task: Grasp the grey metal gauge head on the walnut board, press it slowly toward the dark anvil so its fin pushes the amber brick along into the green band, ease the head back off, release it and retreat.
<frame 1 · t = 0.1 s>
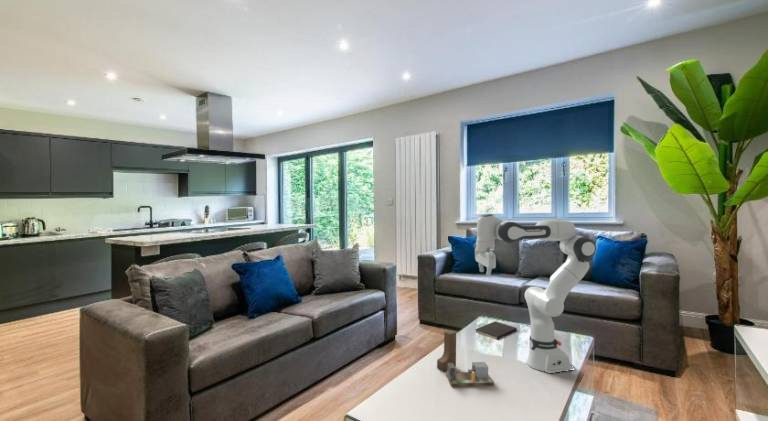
hand: (484, 273, 179), 48 cm above the table, fingers open, 8 cm apart
amber brick: (473, 376, 163), point 4 cm above the table, slide at 0.0 cm
hardcover book: (495, 332, 228), on the table
gauge head: (478, 372, 166), point 5 cm above the table, slide at 0.0 cm
wooden block: (446, 368, 179), on the table
bench: (469, 380, 167), on the table
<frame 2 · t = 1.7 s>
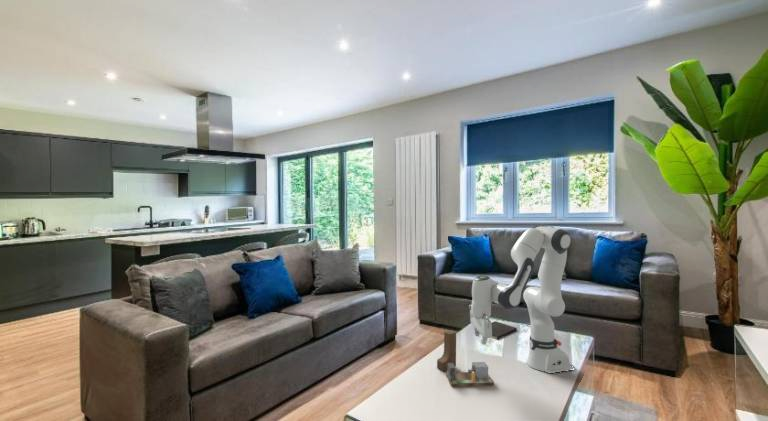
hand: (480, 339, 166), 19 cm above the table, fingers open, 8 cm apart
nothing on the table moved.
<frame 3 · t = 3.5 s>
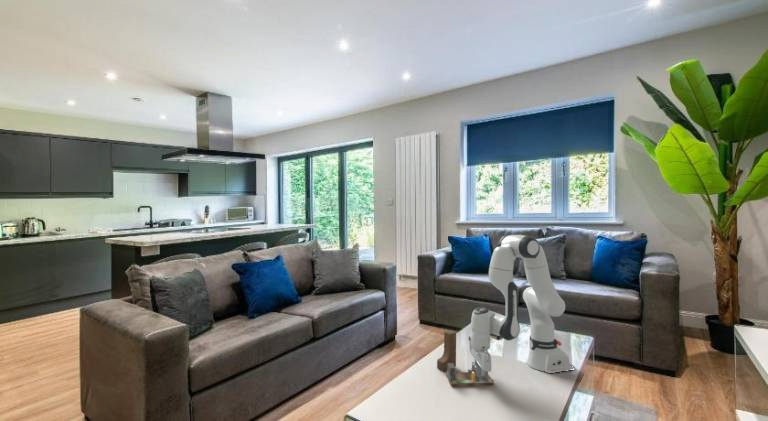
hand: (480, 371, 167), 4 cm above the table, fingers closed on gauge head, 5 cm apart
gauge head: (478, 372, 166), point 5 cm above the table, slide at 0.0 cm, touching gripper
everything else where it was.
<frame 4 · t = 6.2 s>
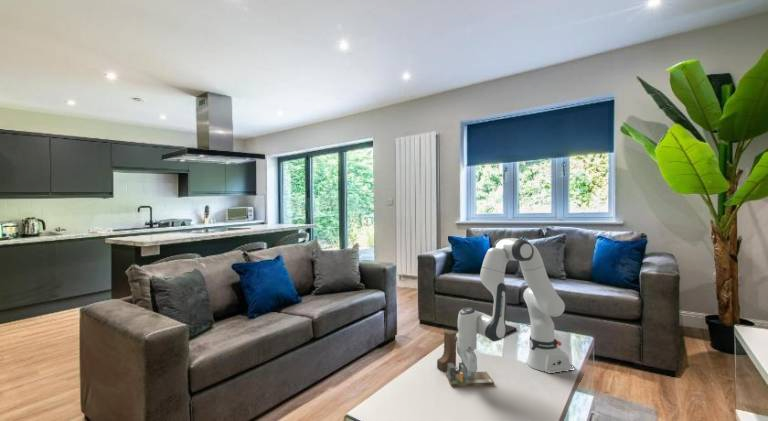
hand: (466, 372, 167), 4 cm above the table, fingers closed on gauge head, 5 cm apart
amber brick: (461, 376, 163), point 4 cm above the table, slide at 5.7 cm, touching gauge head
gauge head: (464, 372, 165), point 5 cm above the table, slide at 6.5 cm, touching gripper, amber brick
everything else where it was.
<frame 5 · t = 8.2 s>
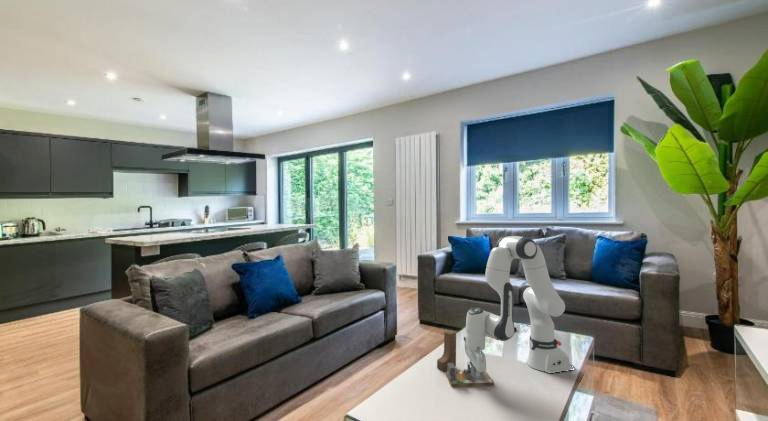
hand: (475, 372, 167), 4 cm above the table, fingers closed on gauge head, 5 cm apart
amber brick: (460, 376, 163), point 4 cm above the table, slide at 5.9 cm
gauge head: (473, 372, 166), point 5 cm above the table, slide at 2.3 cm, touching gripper
everything else where it was.
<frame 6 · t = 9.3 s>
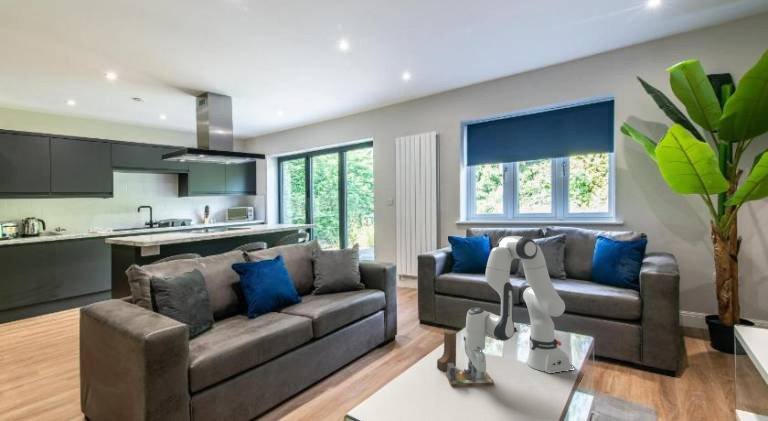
hand: (474, 371, 167), 4 cm above the table, fingers open, 8 cm apart
gauge head: (474, 372, 166), point 5 cm above the table, slide at 1.9 cm
everything else where it was.
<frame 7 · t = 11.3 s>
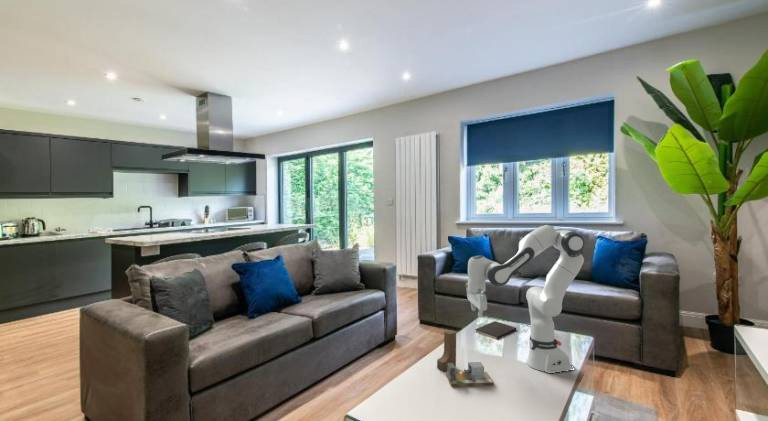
hand: (476, 313, 183), 26 cm above the table, fingers open, 8 cm apart
nothing on the table moved.
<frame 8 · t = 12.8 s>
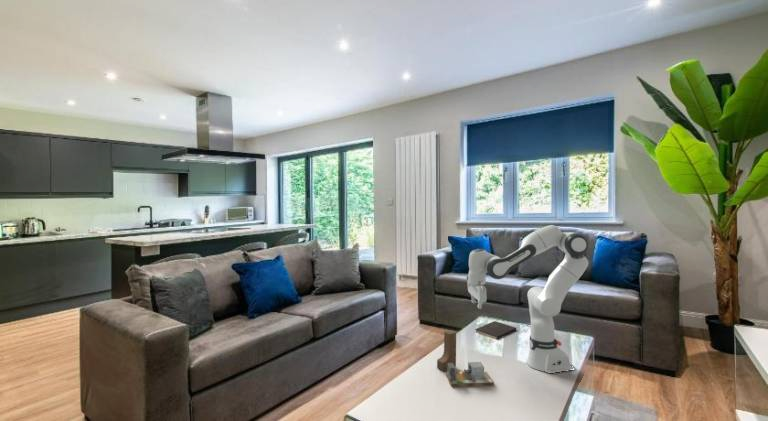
hand: (476, 305, 187), 29 cm above the table, fingers open, 8 cm apart
nothing on the table moved.
at the end: amber brick slide at 5.9 cm; gauge head slide at 1.9 cm; the gripper is holding nothing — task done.
